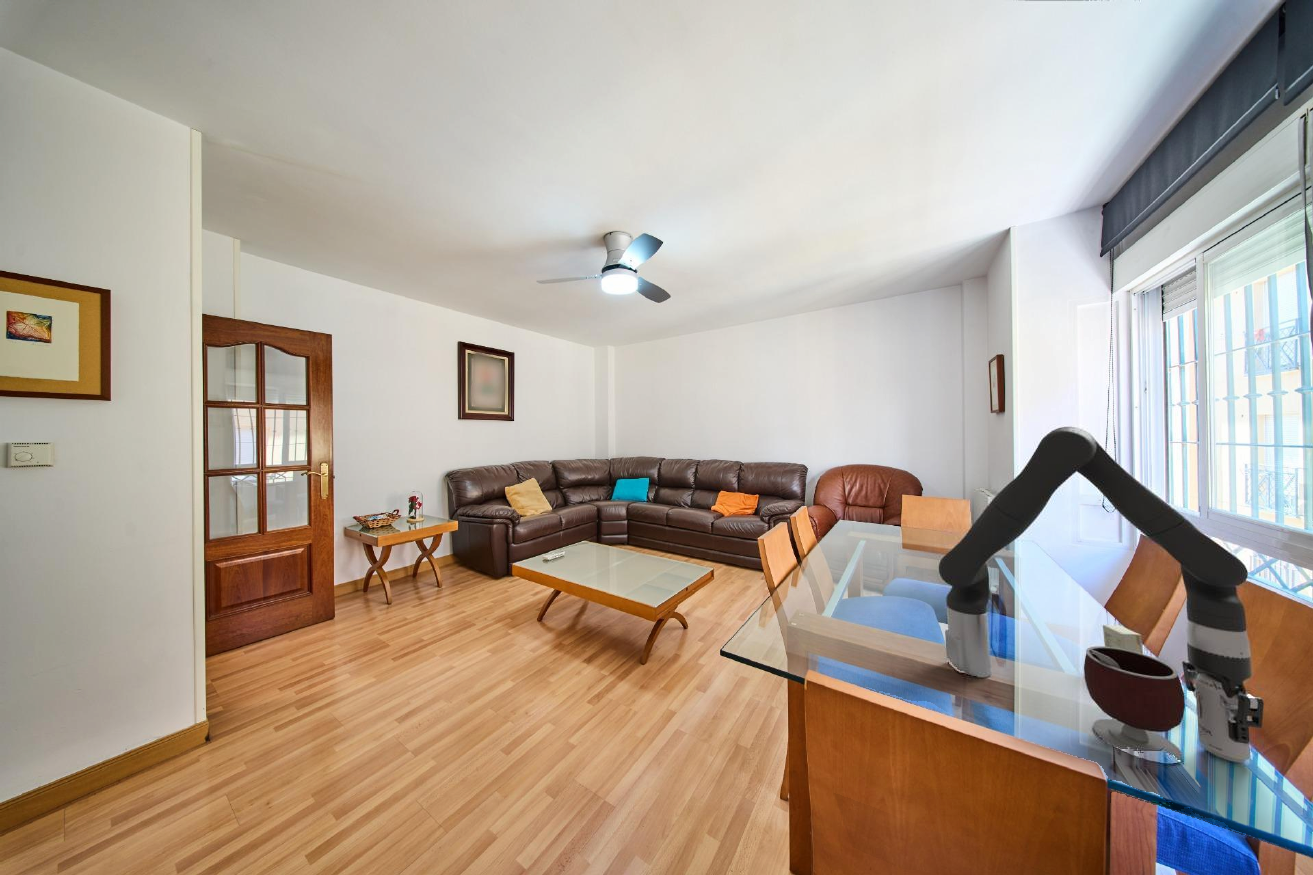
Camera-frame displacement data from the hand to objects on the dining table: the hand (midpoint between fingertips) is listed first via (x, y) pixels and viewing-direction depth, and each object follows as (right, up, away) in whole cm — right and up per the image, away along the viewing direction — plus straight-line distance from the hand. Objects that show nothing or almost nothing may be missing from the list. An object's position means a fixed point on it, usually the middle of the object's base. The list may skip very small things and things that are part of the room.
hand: (1222, 729), depth 81 cm
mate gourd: (-13, -6, +5) cm, 15 cm away
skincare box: (+13, -6, +28) cm, 31 cm away
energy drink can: (0, -5, 0) cm, 5 cm away
